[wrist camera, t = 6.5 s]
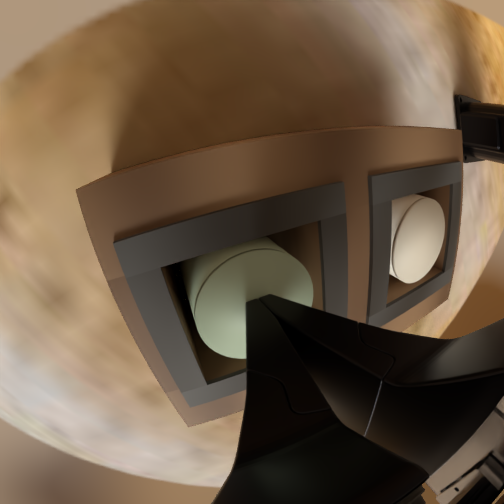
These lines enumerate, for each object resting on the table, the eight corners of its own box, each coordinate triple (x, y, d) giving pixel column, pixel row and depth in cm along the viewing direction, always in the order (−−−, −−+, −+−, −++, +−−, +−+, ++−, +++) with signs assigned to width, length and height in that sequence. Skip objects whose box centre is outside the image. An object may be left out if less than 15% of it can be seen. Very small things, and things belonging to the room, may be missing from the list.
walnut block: (383, 125, 15) (464, 130, 9) (387, 263, 19) (450, 300, 13) (110, 173, 11) (73, 190, 6) (171, 345, 15) (189, 430, 10)
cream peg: (371, 174, 15) (447, 192, 10) (373, 235, 17) (440, 267, 12) (318, 185, 14) (396, 207, 9) (324, 252, 16) (391, 296, 11)
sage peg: (248, 202, 13) (309, 234, 8) (261, 274, 15) (315, 333, 10) (167, 224, 12) (178, 274, 7) (189, 297, 14) (214, 372, 9)
